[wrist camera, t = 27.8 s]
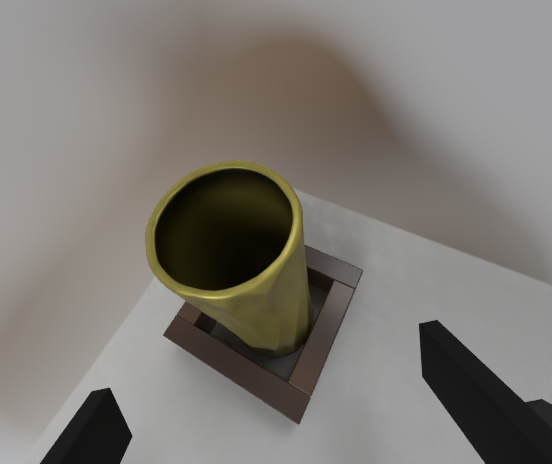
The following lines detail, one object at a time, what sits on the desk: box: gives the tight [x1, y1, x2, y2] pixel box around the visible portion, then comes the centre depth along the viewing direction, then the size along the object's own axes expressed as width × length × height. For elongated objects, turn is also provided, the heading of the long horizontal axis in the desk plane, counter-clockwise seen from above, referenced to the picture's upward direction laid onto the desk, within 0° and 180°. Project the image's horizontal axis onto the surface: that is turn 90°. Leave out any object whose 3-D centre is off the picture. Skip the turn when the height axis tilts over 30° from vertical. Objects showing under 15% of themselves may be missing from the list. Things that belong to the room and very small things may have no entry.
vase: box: [145, 161, 314, 357], centre depth 15 cm, size 6×6×14 cm
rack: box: [163, 245, 363, 424], centre depth 20 cm, size 10×10×4 cm
